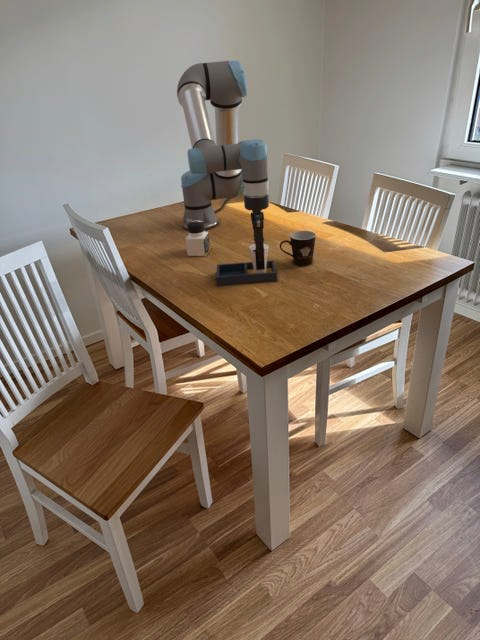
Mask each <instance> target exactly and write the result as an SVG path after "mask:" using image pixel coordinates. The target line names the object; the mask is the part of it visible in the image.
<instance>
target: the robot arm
mask: <svg viewBox="0 0 480 640" xmlns="http://www.w3.org/2000/svg"><path fill="white" fill-rule="evenodd" d="M247 95H248V86H247V80H246V75H245V70H244V67H243V65H242V63H241V62H240V61H239V60H228V59H227V60H221V61H211V62H210V61H209V62H199V63H195V64H193V65H191V66H189V67H188V68H187V69H186V70H185V71H184V72H183V73H182V74H181V76H180V78H179V81H178V83H177V88H176V96H177V101H178V103H179V105H180V106H181V107H182V109H183V113H184V117H185V123H186V128H187V132H188V137H189V142H190V145H191V148H189V149H188V150H187V162H188V168H189V170H188V171H186V172H183V174H181V178H180V181H181V182H180V183H181V184H180V185H181V186H180V187H181V190H182V197H183V204H184V212H183V219H182V227H183V229H185V230H187V231H188V226H187V225H188V223H190V222H192V221H202V222H203V223H204V230H205V231H206V230H211V229H213V228H215V227H217V226H218V223H219V222H218V217H217V216H216V213H217V212H219V211H221V210H223V208H224V207H225V205H226V204H227V202H228V201H229V200H230V199H234V198H238V197H242V196H243V195H244V196H243V203H244V209H245V210H247V211H251V212H250V219H251V220H250V221H251V225H252V226H251V227H252V229H253V241H254V242H253V244H255V246H256V249H255V250H253V252H255V256H256V270H264V269H265V263H264V241H265V237H264V229H265V224H264V220H265V214H264V211H263V210H266V209H268V208H269V207H270V196H269V191H270V190H269V189H270V188H269V178H268V177H269V173H268V172H269V171H268V154H269V153H268V149H267V143H266V140H264V139H260V138H259V139H258V138H254V139H246V140H241V141H239V108H240V106H241V105H242V104H243V98H246V97H247ZM206 101H209V102H210V105H211V106H212V108H214V119H215V121H214V122H215V123H214V124H215V136H214V132H213V129H212V124H211V121H210V117H209V114H208V109H207V106H206ZM224 199H225V201H224V202H223V203H222V205H221V206H220V207H219V208H217V209H216V210H214V208H213V205H212V201H216V200H224Z"/></svg>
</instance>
